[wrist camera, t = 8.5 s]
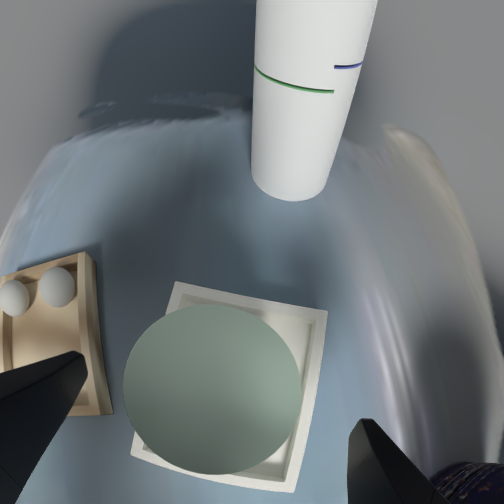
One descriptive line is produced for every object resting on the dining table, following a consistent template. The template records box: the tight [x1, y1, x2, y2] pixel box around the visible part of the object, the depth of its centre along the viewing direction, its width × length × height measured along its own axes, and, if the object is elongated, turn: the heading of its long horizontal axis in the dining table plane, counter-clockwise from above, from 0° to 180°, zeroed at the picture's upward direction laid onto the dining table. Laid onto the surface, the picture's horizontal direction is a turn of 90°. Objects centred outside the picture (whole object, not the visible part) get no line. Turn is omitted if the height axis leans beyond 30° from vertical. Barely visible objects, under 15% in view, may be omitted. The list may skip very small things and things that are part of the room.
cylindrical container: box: [251, 0, 378, 201], centre depth 15 cm, size 7×7×25 cm
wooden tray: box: [0, 251, 113, 416], centre depth 16 cm, size 12×10×2 cm
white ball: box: [39, 267, 75, 308], centre depth 17 cm, size 3×3×3 cm
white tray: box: [130, 281, 328, 493], centre depth 16 cm, size 12×10×2 cm
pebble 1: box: [0, 280, 29, 317], centre depth 16 cm, size 3×3×3 cm
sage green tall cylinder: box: [123, 304, 302, 475], centre depth 11 cm, size 5×5×11 cm
